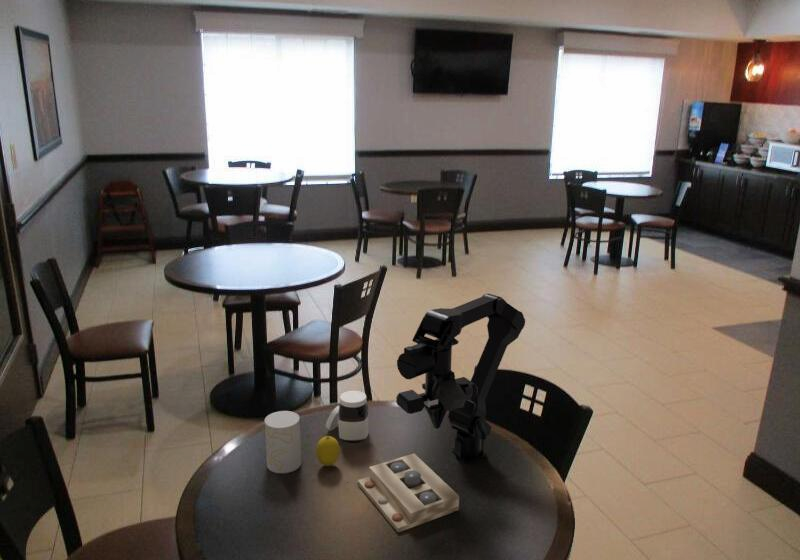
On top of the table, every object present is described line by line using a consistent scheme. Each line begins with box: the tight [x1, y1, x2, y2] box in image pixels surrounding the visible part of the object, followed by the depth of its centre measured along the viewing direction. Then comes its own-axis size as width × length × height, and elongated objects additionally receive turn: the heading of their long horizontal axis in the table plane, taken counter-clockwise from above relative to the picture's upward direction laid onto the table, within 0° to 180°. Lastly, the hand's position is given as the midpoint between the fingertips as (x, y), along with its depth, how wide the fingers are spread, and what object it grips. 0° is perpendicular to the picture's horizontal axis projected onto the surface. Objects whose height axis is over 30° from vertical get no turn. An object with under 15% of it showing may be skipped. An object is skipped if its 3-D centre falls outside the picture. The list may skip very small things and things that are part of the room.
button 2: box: [420, 492, 436, 505], centre depth 132 cm, size 4×4×2 cm
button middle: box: [404, 470, 421, 488], centre depth 137 cm, size 4×4×2 cm
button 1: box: [391, 462, 406, 474], centre depth 142 cm, size 4×4×2 cm
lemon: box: [316, 435, 341, 467], centre depth 147 cm, size 6×6×8 cm
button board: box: [357, 453, 460, 533], centre depth 137 cm, size 15×19×4 cm
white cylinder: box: [264, 410, 302, 474], centre depth 147 cm, size 8×8×12 cm
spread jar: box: [325, 390, 369, 445], centre depth 161 cm, size 12×11×12 cm
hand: (436, 427), depth 142 cm, fingers closed
